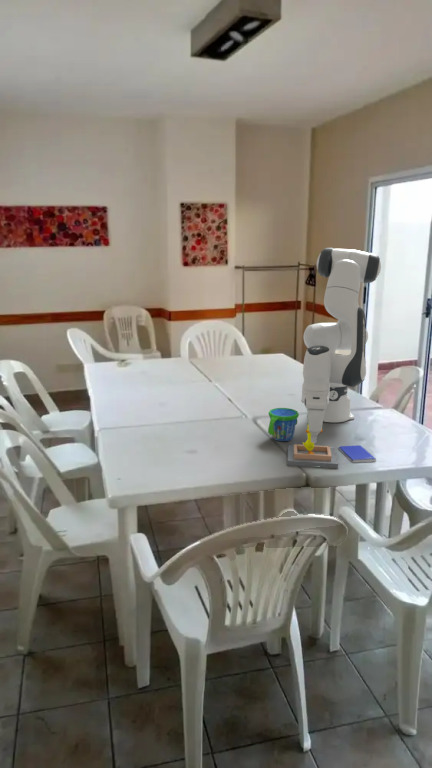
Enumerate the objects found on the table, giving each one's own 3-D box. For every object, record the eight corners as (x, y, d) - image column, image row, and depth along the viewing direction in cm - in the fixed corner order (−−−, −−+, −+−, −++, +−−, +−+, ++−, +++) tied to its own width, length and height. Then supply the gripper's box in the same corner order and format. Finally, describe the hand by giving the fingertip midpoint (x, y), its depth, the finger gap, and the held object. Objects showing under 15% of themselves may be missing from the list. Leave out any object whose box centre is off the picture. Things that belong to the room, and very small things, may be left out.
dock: (287, 449, 195) (288, 441, 194) (334, 452, 193) (335, 444, 192) (287, 465, 182) (287, 456, 181) (337, 468, 180) (338, 459, 179)
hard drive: (376, 458, 186) (360, 445, 197) (352, 459, 184) (338, 446, 196) (375, 462, 186) (360, 449, 198) (352, 464, 185) (338, 450, 197)
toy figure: (320, 452, 189) (321, 417, 186) (323, 456, 186) (324, 421, 183) (300, 452, 188) (301, 418, 185) (302, 456, 185) (304, 421, 182)
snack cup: (279, 447, 197) (280, 419, 195) (257, 439, 205) (258, 412, 202) (307, 437, 207) (308, 410, 205) (285, 430, 215) (286, 404, 212)
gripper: (304, 387, 192) (302, 426, 196) (306, 405, 173) (303, 447, 176) (323, 388, 192) (321, 427, 195) (327, 406, 172) (324, 448, 176)
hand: (313, 436), depth 186 cm, fingers open, 8 cm apart
